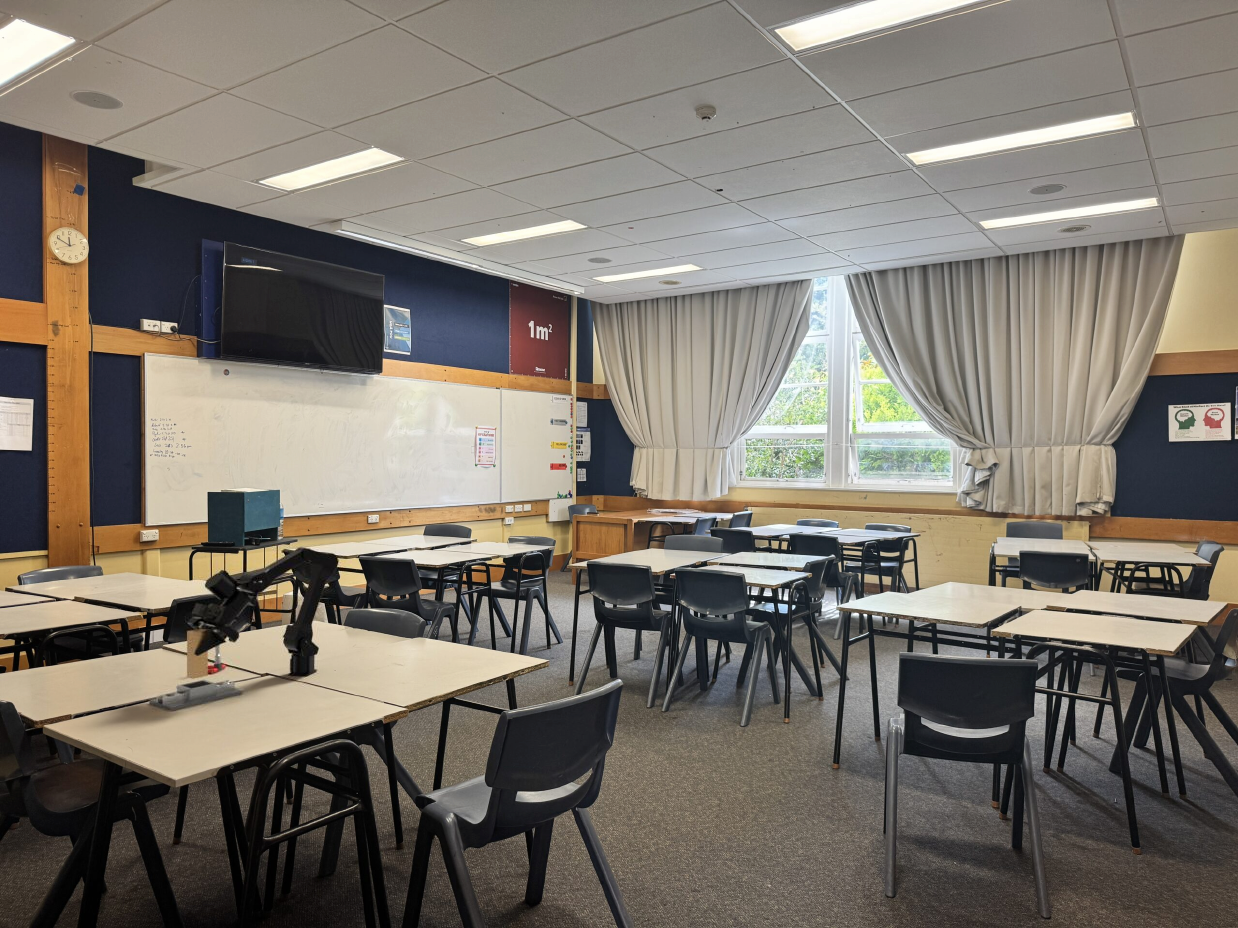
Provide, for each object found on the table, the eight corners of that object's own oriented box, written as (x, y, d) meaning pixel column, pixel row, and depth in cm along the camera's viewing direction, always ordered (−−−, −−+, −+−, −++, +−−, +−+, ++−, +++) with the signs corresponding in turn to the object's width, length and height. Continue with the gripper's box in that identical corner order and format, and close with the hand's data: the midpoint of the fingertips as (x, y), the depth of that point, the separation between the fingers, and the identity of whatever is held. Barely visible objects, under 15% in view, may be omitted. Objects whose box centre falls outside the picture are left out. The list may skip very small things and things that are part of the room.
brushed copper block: (201, 673, 226) (201, 628, 226) (207, 675, 224) (207, 630, 224) (186, 676, 223) (187, 630, 223) (193, 678, 221) (193, 632, 221)
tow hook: (184, 675, 250) (213, 674, 249) (183, 634, 250) (211, 633, 249) (200, 668, 258) (227, 668, 257) (198, 629, 258) (226, 628, 258)
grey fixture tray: (220, 687, 235) (220, 673, 235) (242, 693, 228) (242, 680, 228) (149, 703, 219) (149, 689, 219) (171, 711, 212) (171, 696, 212)
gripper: (194, 589, 232) (155, 633, 223) (229, 595, 222) (189, 641, 212) (220, 611, 239) (183, 655, 230) (255, 618, 228) (217, 664, 219)
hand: (192, 653), depth 222 cm, fingers closed on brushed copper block, 3 cm apart
